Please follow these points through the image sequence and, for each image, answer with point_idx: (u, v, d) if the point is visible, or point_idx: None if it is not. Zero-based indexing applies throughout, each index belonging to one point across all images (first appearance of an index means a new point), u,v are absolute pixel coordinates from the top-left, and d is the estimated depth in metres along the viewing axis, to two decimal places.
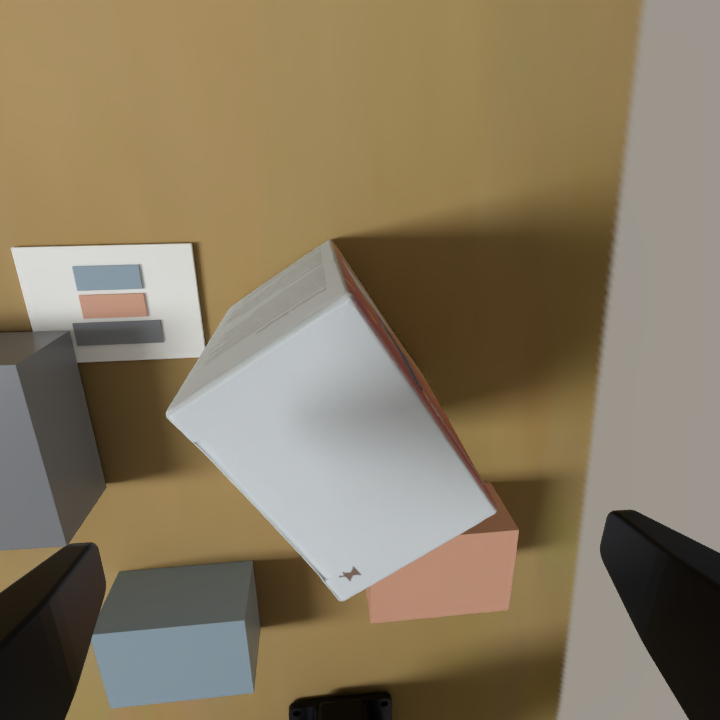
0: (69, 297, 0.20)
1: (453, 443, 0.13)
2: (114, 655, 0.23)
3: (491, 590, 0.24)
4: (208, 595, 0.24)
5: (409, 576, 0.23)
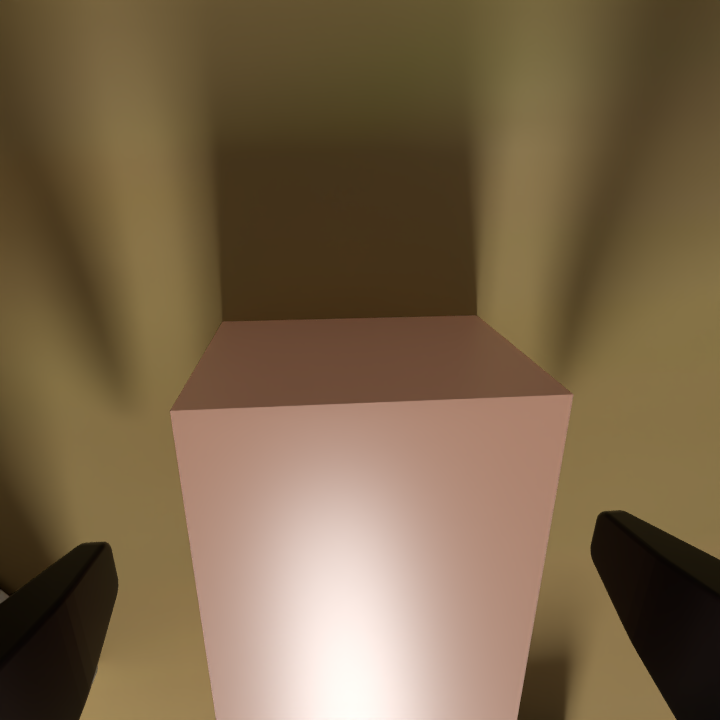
0: None
1: None
2: None
3: (458, 468, 0.06)
4: None
5: (355, 693, 0.08)
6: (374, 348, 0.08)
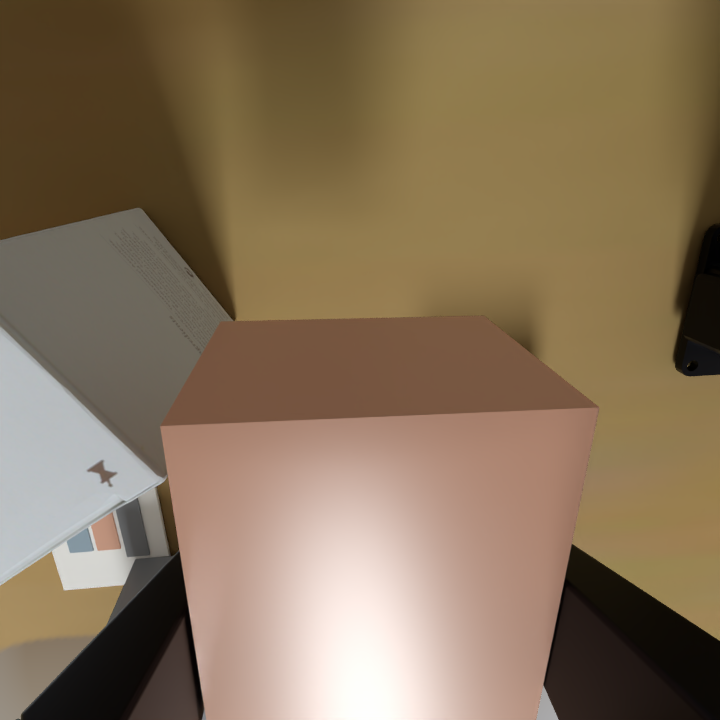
0: (102, 556, 0.22)
1: None
2: None
3: (474, 485, 0.06)
4: None
5: None
6: (380, 355, 0.07)
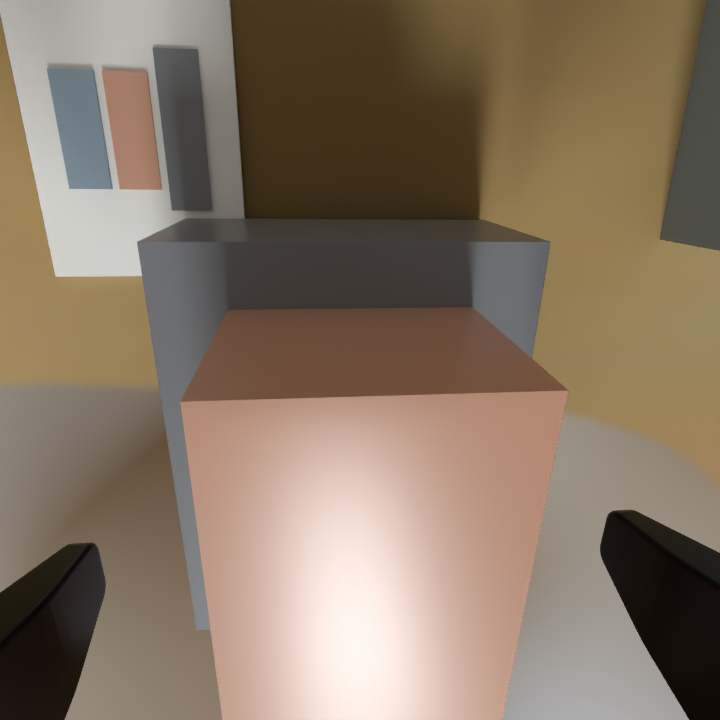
0: (127, 206, 0.12)
1: None
2: None
3: (457, 459, 0.07)
4: None
5: (353, 672, 0.08)
6: (375, 343, 0.08)
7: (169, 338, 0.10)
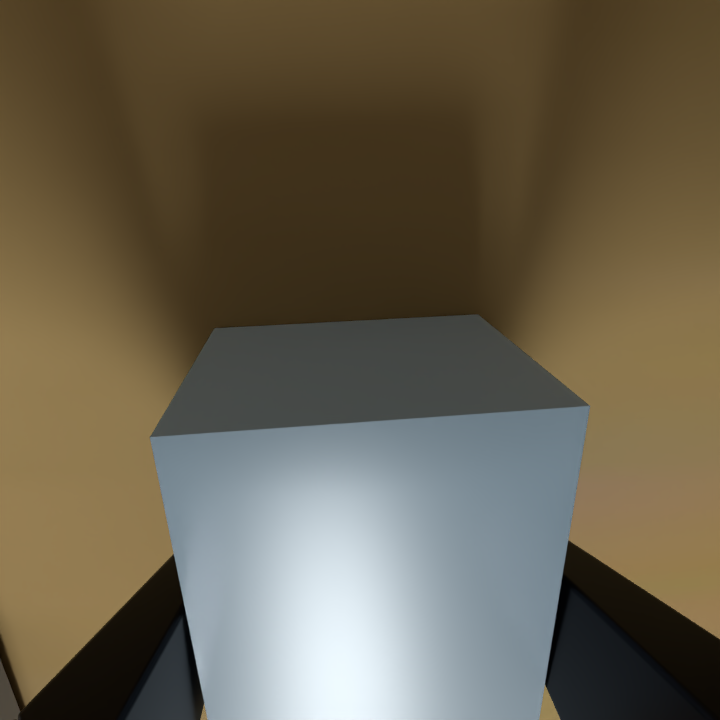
0: None
1: None
2: None
3: None
4: None
5: None
6: None
7: None
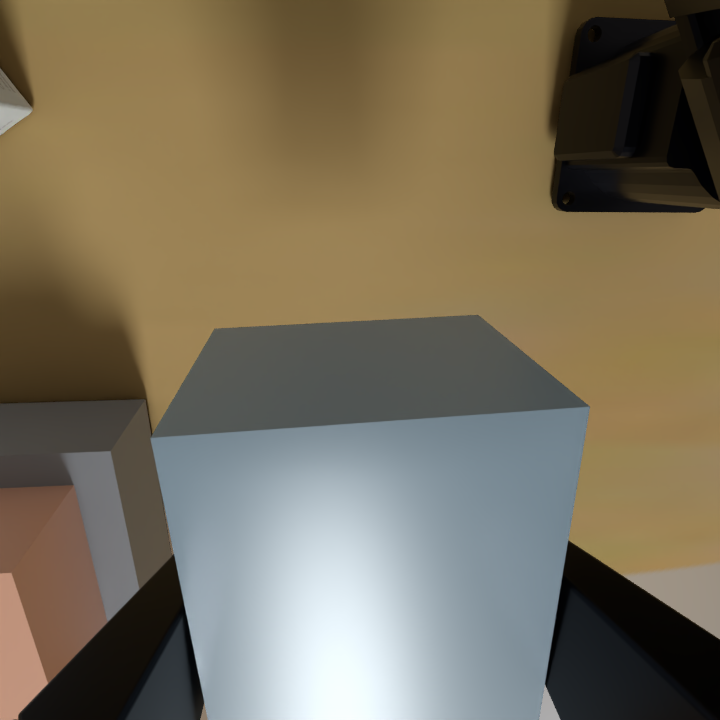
0: None
1: None
2: None
3: None
4: None
5: None
6: None
7: None
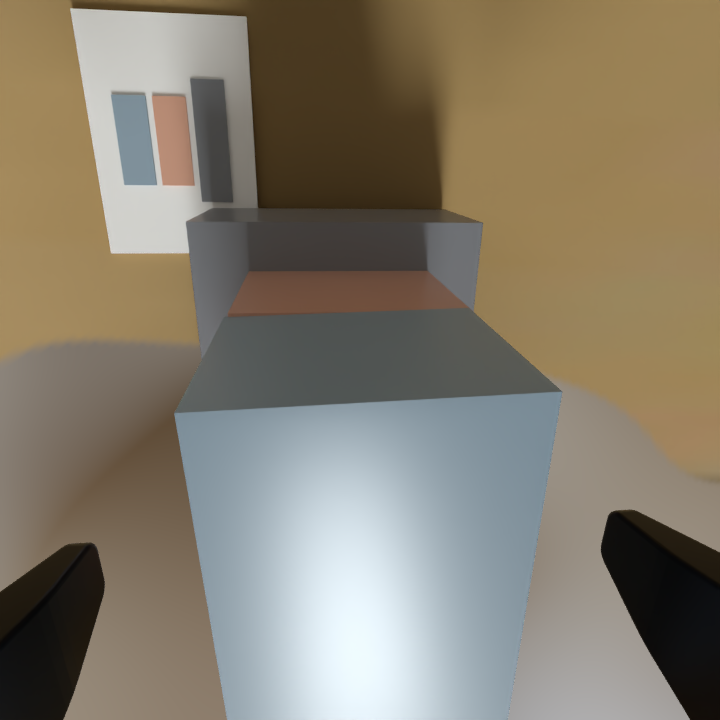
0: (167, 198, 0.16)
1: None
2: None
3: None
4: None
5: None
6: (352, 288, 0.12)
7: (206, 292, 0.13)
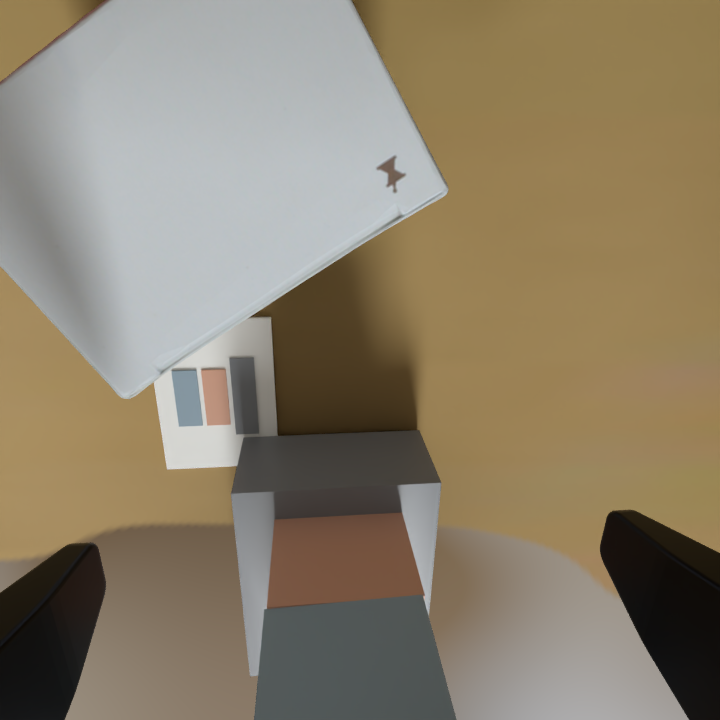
0: (210, 432, 0.22)
1: None
2: None
3: None
4: None
5: None
6: (347, 554, 0.17)
7: (244, 533, 0.19)
